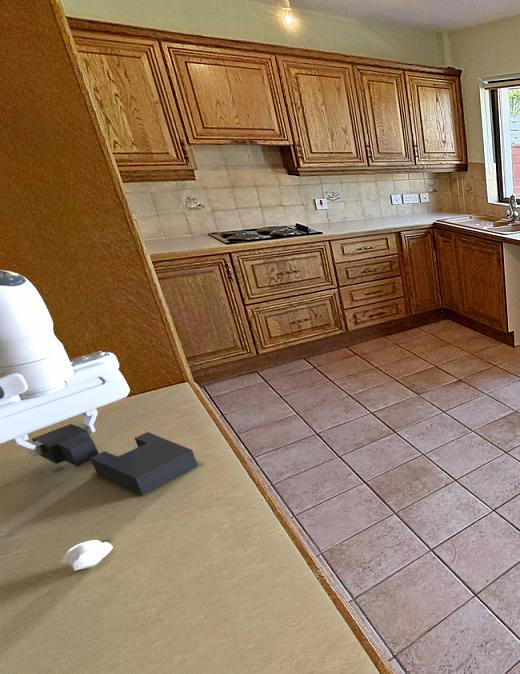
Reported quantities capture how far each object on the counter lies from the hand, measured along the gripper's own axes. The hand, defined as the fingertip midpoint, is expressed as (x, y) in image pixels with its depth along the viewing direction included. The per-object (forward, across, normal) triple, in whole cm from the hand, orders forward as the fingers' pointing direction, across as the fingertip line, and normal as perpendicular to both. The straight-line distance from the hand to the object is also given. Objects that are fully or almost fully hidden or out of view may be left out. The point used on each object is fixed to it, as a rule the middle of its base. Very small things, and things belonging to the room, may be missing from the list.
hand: (63, 443), depth 80 cm
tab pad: (+2, 0, +2) cm, 3 cm away
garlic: (+3, +11, +29) cm, 31 cm away
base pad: (+3, -3, +15) cm, 16 cm away
